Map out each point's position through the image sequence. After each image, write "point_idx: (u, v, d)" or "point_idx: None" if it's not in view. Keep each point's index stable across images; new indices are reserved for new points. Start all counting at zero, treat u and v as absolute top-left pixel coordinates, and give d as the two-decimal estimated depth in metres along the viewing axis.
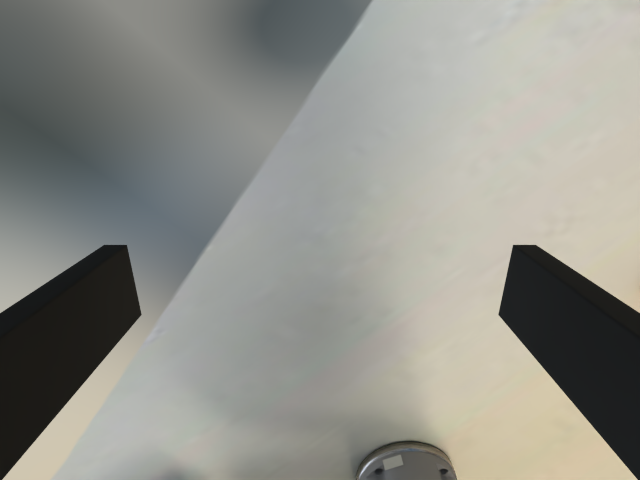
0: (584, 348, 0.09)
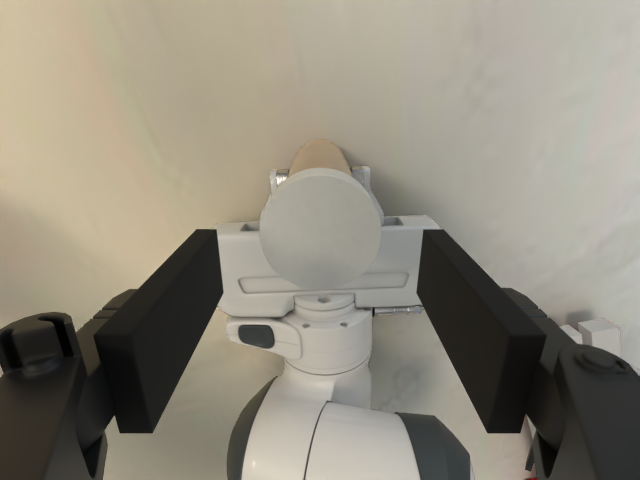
0: (455, 312, 0.10)
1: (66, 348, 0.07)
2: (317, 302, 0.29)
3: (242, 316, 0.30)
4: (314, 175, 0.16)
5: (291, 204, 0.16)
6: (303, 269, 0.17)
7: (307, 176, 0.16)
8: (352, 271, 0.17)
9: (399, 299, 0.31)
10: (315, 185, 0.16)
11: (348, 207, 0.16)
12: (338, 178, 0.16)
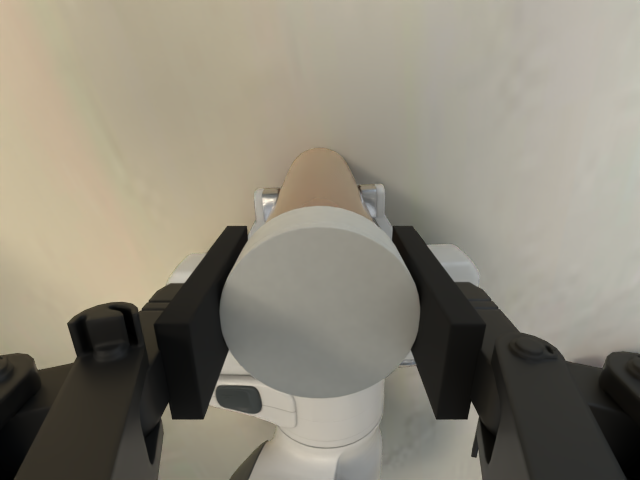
0: None
1: (131, 337, 0.07)
2: None
3: (221, 373, 0.24)
4: (309, 226, 0.09)
5: (271, 273, 0.09)
6: (292, 370, 0.11)
7: (297, 227, 0.09)
8: (371, 372, 0.11)
9: None
10: (311, 243, 0.09)
11: (366, 277, 0.10)
12: (350, 231, 0.09)
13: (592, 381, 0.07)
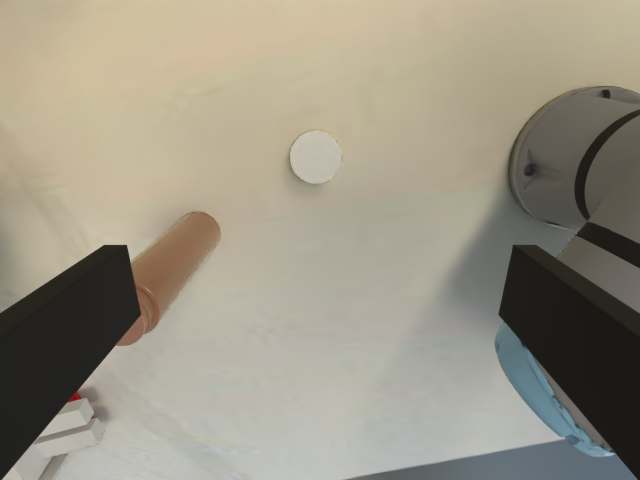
0: (584, 348, 0.09)
1: None
2: None
3: None
4: (290, 161, 0.39)
5: (302, 170, 0.39)
6: (331, 165, 0.39)
7: None
8: (332, 143, 0.38)
9: None
10: (294, 160, 0.39)
11: (302, 146, 0.38)
12: (290, 151, 0.38)
13: None
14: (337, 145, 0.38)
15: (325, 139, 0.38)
